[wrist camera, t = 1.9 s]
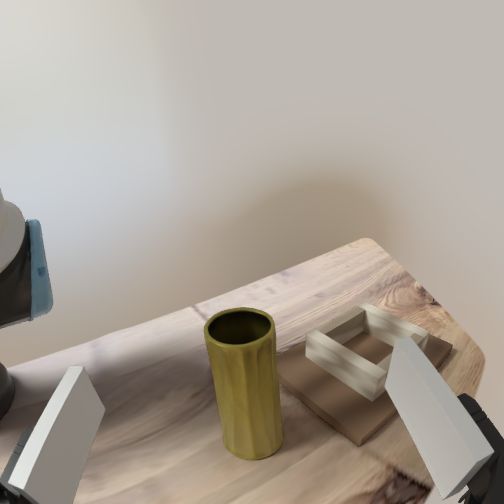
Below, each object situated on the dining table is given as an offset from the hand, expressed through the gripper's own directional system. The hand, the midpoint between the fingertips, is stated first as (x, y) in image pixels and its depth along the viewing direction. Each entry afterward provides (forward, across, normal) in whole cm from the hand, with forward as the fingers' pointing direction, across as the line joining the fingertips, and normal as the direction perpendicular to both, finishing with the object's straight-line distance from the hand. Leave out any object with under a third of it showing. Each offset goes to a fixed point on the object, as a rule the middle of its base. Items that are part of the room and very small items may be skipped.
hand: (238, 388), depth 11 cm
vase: (+10, 0, -18) cm, 20 cm away
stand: (+19, +14, -18) cm, 29 cm away
